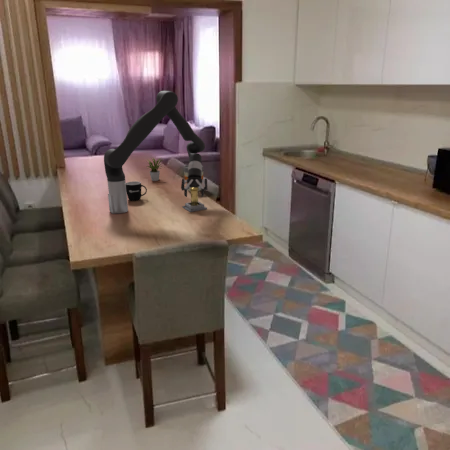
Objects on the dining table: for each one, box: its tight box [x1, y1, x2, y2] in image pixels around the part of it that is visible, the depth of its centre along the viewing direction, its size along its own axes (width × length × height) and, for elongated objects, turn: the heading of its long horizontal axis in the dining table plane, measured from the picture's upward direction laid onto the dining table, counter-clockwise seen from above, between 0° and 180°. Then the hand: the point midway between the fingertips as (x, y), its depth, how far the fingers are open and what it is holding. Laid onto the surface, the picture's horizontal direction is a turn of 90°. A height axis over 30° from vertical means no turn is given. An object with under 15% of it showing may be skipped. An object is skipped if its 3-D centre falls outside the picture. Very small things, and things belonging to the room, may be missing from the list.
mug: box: [126, 180, 148, 202], centre depth 256 cm, size 12×9×10 cm
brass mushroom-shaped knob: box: [189, 187, 199, 206], centre depth 236 cm, size 5×5×11 cm
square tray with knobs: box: [182, 200, 208, 213], centre depth 237 cm, size 10×10×3 cm
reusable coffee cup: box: [183, 164, 205, 192], centre depth 275 cm, size 13×13×15 cm
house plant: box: [145, 157, 163, 182], centre depth 303 cm, size 14×14×16 cm
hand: (194, 196), depth 234 cm, fingers open, 8 cm apart
